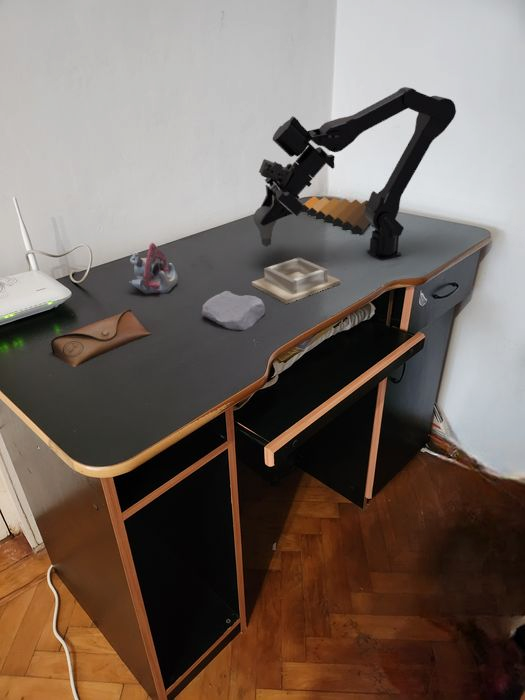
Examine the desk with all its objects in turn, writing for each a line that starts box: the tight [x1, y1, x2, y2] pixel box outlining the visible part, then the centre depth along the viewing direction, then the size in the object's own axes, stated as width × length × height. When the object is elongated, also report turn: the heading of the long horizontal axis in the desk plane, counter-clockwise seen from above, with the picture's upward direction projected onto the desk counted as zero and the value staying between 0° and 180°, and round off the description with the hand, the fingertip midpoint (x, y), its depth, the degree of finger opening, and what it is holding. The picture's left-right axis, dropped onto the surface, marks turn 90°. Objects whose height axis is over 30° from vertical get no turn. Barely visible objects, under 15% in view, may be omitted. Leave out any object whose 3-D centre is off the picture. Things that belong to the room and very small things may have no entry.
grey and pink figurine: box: [128, 242, 179, 295], centre depth 125 cm, size 11×11×12 cm
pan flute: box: [301, 195, 371, 236], centre depth 166 cm, size 25×3×25 cm
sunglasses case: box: [50, 309, 152, 368], centre depth 105 cm, size 18×7×7 cm
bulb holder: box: [251, 257, 341, 305], centre depth 124 cm, size 16×13×4 cm
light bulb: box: [253, 206, 277, 247], centre depth 130 cm, size 6×6×10 cm
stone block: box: [201, 290, 266, 331], centre depth 112 cm, size 12×5×10 cm
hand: (259, 220), depth 129 cm, fingers closed on light bulb, 5 cm apart
